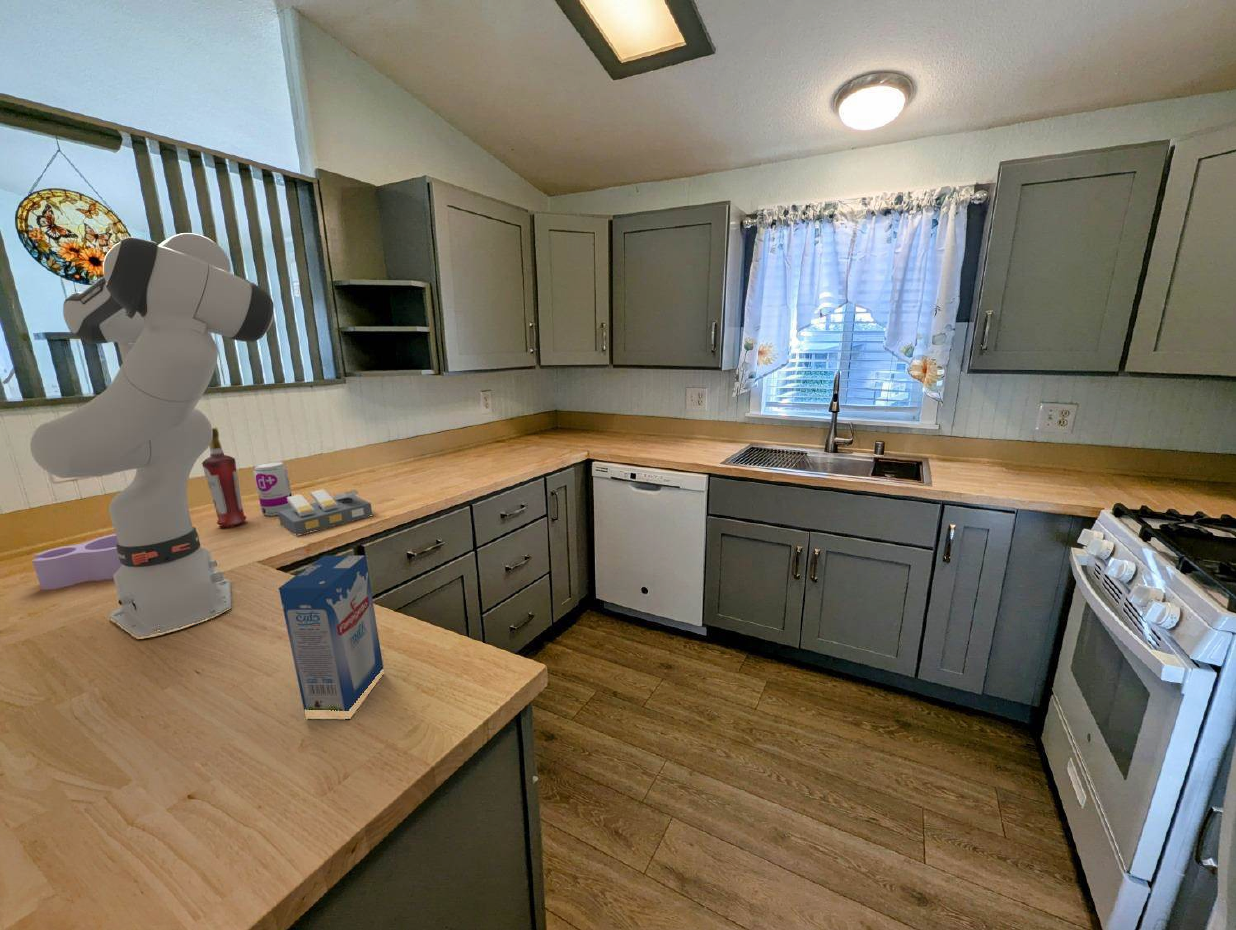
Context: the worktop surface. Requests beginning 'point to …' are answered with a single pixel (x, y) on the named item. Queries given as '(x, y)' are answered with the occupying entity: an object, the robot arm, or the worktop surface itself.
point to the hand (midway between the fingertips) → (162, 416)
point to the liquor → (223, 484)
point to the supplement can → (272, 487)
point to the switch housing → (325, 515)
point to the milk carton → (332, 631)
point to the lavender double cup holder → (77, 563)
